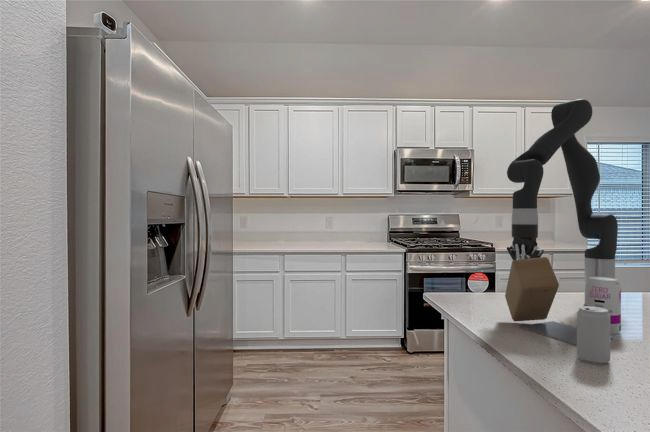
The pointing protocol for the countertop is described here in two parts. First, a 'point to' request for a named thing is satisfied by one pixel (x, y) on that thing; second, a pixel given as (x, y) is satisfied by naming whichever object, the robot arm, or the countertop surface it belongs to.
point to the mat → (555, 331)
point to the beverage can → (593, 335)
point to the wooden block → (531, 289)
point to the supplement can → (606, 299)
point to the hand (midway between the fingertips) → (524, 277)
